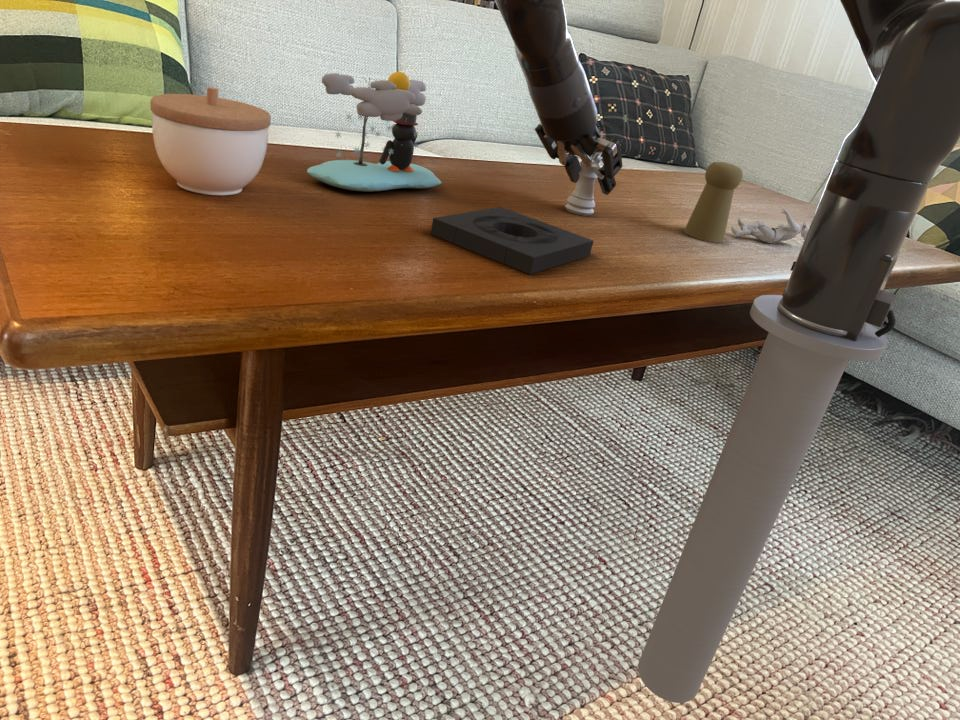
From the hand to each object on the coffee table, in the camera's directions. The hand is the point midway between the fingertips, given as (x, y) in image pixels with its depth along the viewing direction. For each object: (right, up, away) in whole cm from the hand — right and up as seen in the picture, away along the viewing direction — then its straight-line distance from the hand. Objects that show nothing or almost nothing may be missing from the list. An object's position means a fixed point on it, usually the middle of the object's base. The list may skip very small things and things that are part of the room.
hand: (593, 183), depth 109 cm
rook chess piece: (-2, -4, +1) cm, 5 cm away
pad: (-13, -13, -22) cm, 28 cm away
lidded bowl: (-49, -6, -23) cm, 54 cm away
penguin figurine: (-31, -2, -8) cm, 32 cm away
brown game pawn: (+17, -8, +2) cm, 19 cm away
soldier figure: (+28, -8, +6) cm, 30 cm away
